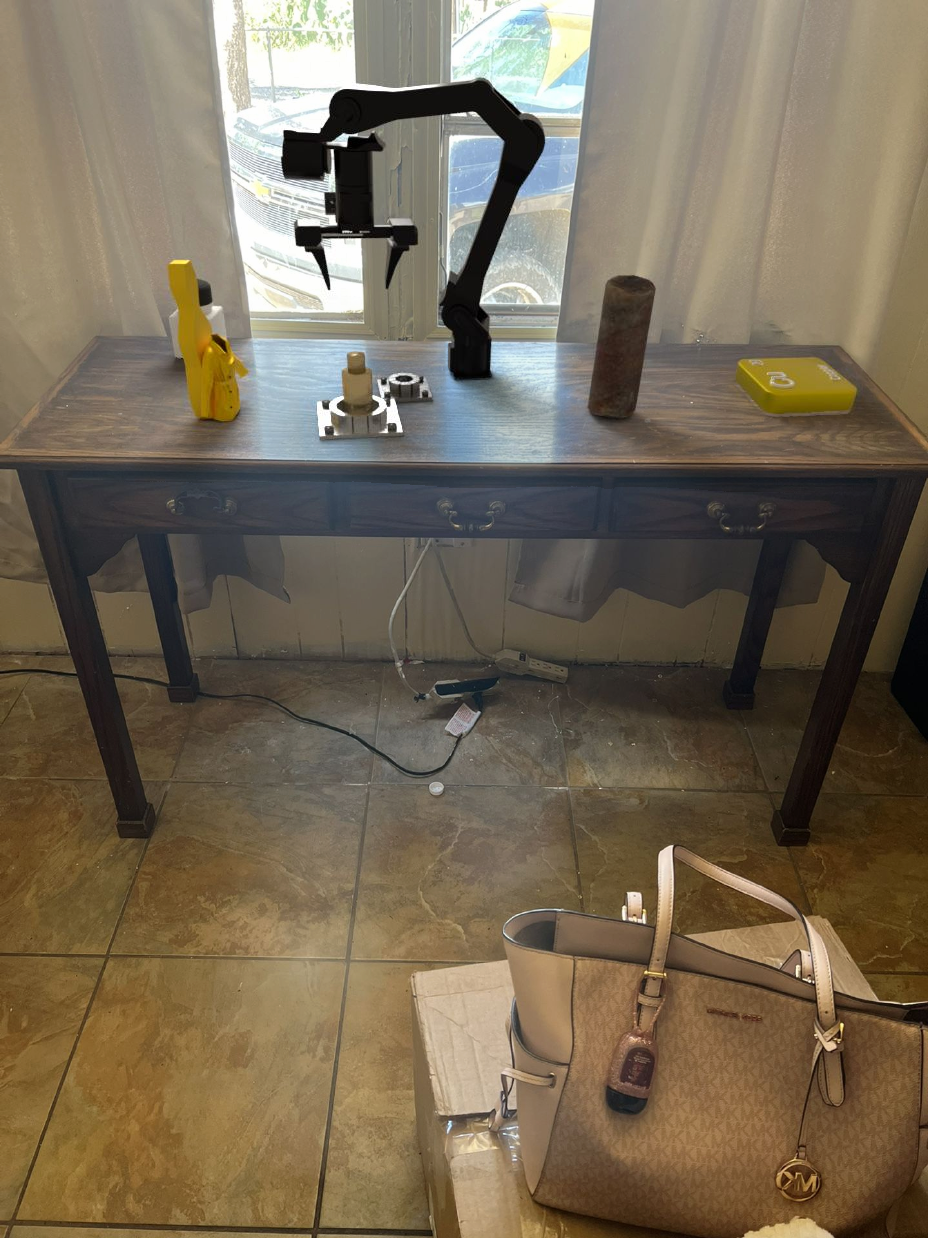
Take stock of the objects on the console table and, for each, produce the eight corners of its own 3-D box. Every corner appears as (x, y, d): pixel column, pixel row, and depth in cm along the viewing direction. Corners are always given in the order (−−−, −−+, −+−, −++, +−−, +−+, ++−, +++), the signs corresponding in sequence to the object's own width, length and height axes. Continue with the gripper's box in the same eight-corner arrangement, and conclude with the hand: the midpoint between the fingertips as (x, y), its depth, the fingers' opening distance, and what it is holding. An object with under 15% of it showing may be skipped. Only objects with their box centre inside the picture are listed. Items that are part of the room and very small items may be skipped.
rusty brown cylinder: (640, 408, 139) (660, 277, 127) (631, 427, 134) (651, 292, 122) (592, 401, 141) (607, 271, 129) (582, 419, 136) (597, 285, 124)
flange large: (394, 402, 139) (394, 387, 138) (402, 435, 130) (402, 420, 128) (317, 405, 137) (316, 391, 136) (320, 439, 128) (318, 424, 126)
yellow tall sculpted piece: (221, 440, 127) (197, 283, 114) (168, 436, 128) (138, 278, 114) (261, 392, 141) (244, 247, 128) (214, 388, 142) (192, 243, 129)
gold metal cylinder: (362, 407, 136) (359, 346, 130) (379, 417, 133) (377, 355, 127) (338, 415, 133) (334, 353, 128) (355, 425, 131) (352, 362, 125)
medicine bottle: (228, 346, 157) (219, 276, 150) (215, 361, 151) (204, 289, 144) (189, 344, 157) (177, 274, 150) (174, 358, 152) (162, 286, 144)
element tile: (854, 417, 140) (863, 388, 137) (764, 420, 138) (771, 390, 135) (812, 380, 152) (820, 353, 149) (729, 383, 150) (735, 355, 147)
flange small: (425, 381, 146) (425, 368, 145) (432, 400, 140) (432, 387, 139) (377, 383, 145) (376, 370, 144) (381, 402, 139) (381, 389, 137)
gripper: (409, 171, 141) (409, 273, 150) (289, 171, 138) (297, 275, 147) (418, 186, 132) (418, 293, 141) (291, 186, 129) (299, 296, 138)
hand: (358, 288), depth 142 cm, fingers open, 9 cm apart
